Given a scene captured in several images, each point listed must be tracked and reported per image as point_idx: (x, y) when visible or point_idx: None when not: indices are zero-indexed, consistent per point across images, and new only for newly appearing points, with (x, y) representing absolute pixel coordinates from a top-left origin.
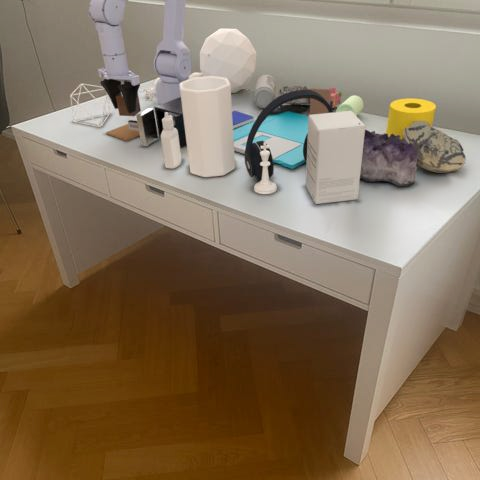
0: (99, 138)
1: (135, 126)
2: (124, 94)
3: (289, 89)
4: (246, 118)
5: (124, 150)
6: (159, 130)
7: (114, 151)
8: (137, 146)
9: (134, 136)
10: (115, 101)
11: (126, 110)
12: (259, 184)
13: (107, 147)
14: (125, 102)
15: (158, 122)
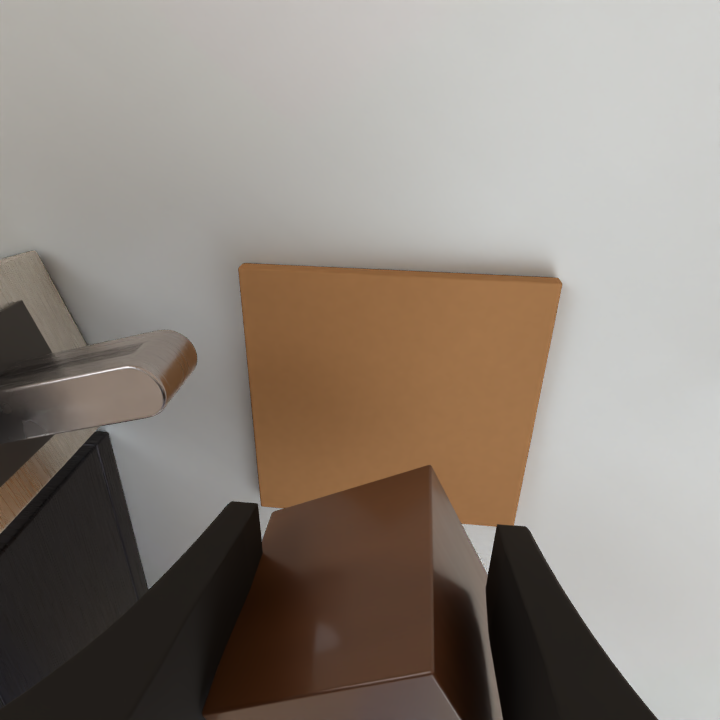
0: (543, 158)
1: (75, 362)
2: (54, 702)
3: None
4: None
5: (62, 90)
6: None
7: (108, 3)
8: (68, 230)
9: (247, 349)
10: (511, 610)
11: (332, 535)
12: None
13: (261, 33)
14: (191, 590)
15: None
